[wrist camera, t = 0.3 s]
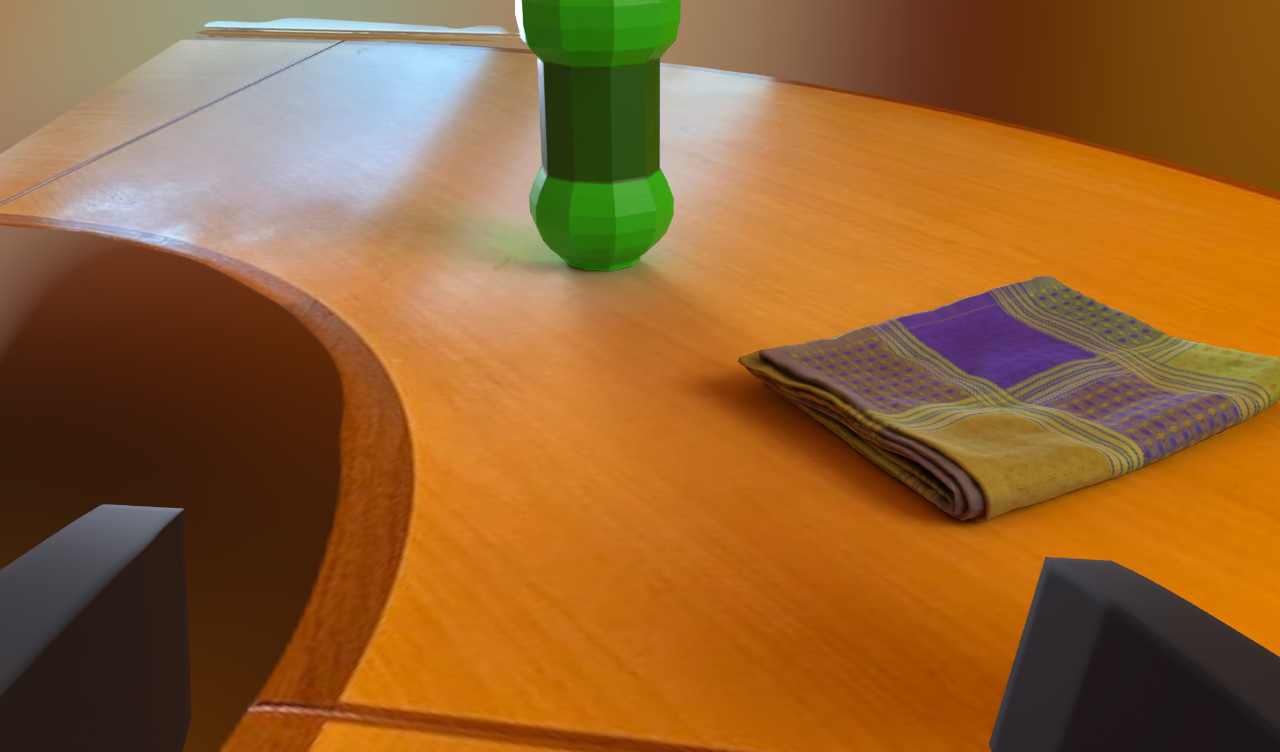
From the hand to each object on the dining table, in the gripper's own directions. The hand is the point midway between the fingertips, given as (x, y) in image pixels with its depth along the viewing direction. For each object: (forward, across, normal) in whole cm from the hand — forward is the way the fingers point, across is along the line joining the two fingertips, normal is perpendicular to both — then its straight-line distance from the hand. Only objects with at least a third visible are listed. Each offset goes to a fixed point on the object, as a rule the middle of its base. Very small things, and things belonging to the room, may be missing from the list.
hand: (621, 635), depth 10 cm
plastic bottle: (+69, -6, +19) cm, 72 cm away
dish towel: (+44, -26, +17) cm, 54 cm away
